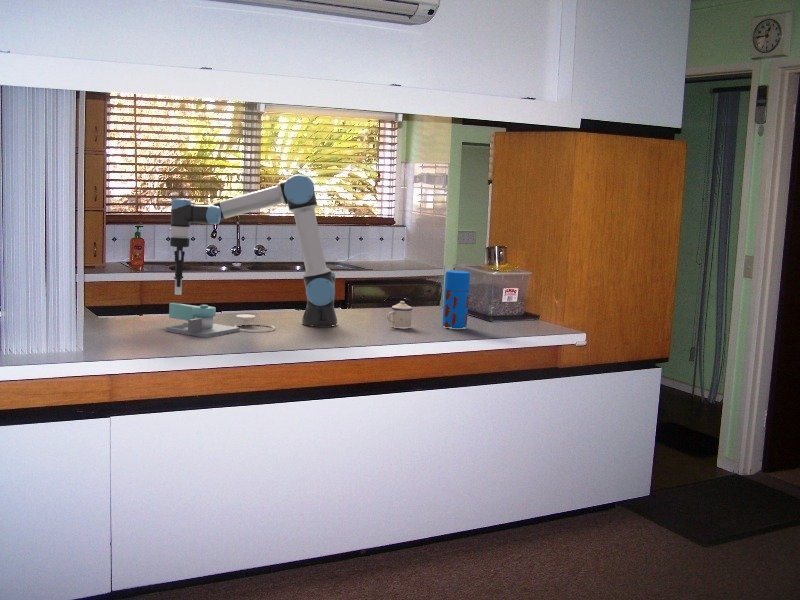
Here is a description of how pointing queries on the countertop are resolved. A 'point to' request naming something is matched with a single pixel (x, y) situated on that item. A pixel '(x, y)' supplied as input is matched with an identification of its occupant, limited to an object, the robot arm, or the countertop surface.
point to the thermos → (456, 299)
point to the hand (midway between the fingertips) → (178, 294)
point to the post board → (202, 328)
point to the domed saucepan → (190, 311)
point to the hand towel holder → (246, 317)
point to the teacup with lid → (400, 315)
